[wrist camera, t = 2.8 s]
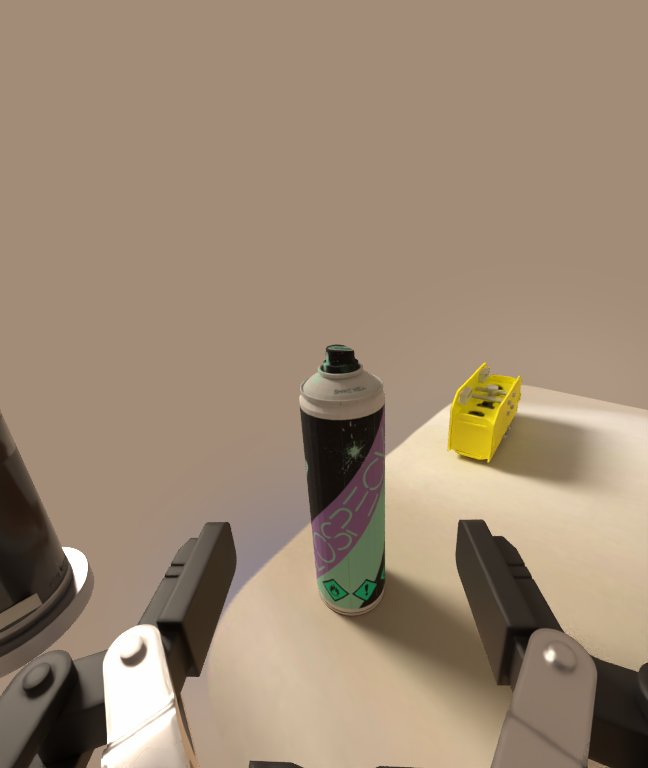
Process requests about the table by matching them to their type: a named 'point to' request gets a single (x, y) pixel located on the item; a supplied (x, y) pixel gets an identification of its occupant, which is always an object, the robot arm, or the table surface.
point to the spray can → (346, 480)
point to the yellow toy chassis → (482, 413)
